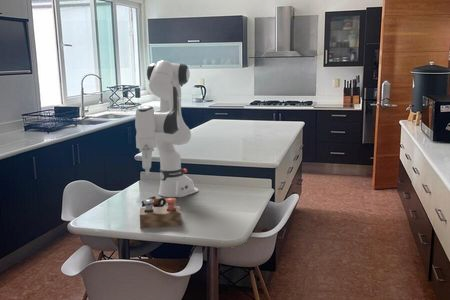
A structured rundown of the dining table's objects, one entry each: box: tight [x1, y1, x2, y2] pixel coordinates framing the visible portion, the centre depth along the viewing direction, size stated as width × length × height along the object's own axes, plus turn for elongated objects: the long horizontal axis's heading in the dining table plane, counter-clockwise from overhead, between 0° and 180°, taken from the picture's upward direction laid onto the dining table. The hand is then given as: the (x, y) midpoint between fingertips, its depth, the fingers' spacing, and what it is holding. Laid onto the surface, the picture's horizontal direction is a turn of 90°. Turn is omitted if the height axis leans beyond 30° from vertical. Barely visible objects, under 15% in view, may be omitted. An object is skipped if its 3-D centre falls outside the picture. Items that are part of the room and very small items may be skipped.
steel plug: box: [143, 198, 154, 212], centre depth 209 cm, size 5×5×7 cm
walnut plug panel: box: [139, 205, 182, 229], centre depth 211 cm, size 18×10×6 cm, turn 98°
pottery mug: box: [141, 195, 167, 208], centre depth 229 cm, size 12×10×8 cm
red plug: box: [165, 197, 177, 211], centre depth 211 cm, size 5×5×7 cm
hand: (147, 174), depth 206 cm, fingers closed
